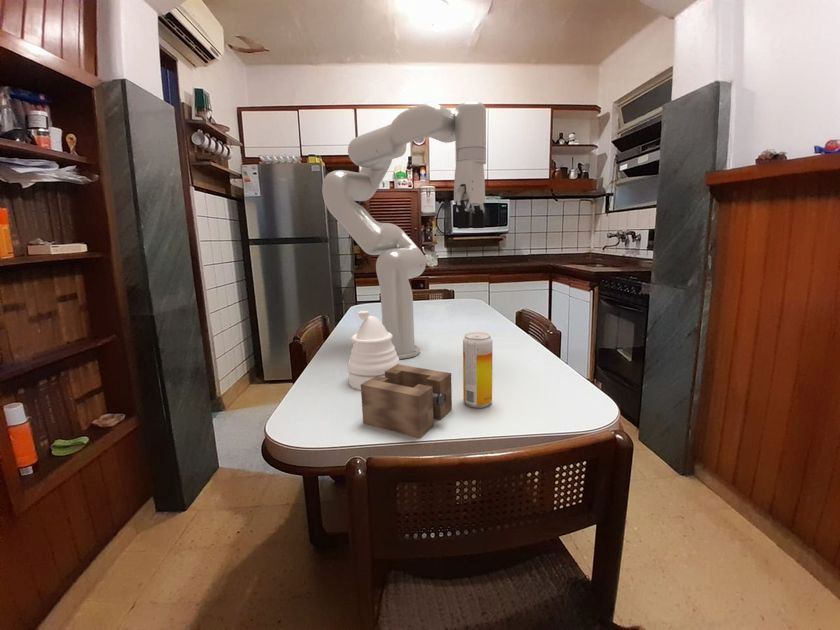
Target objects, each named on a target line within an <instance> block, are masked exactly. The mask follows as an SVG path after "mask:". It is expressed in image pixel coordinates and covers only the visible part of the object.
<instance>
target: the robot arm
mask: <svg viewBox="0 0 840 630" xmlns="http://www.w3.org/2000/svg"><path fill="white" fill-rule="evenodd" d="M486 109H487V108H486V106H485V104H484V103H482V102H479V101H466V102H462V103H460V104H458V105H457V106H456V108H455V110H452V109H449V108H446V107H445V106H443V105H440V104H438V103H436V102H427V103H423V104H420V105H419V104H418V105H417V106H413V107H411V108H408V109H406V110H404V111H402V112H401V113H399V114H398V115H397V116H396V117H395V118H394V119H393V120H392V122H391V123H390V124H388V125H386V126H382V127H380V128H378V129H375V130H371V131H368V132H366V133H363V134H361V135H359V136H356V137H354V138H353V139H352V140H351V141H349V144H348V146H347V153H348V157H349V159H350V160H351V162H352V163H353V164H355V165H356V166H358V167H361V168H360V170H359V172H355V171H352V170H351V171H350V170H343V169H340V170H339V169H338V170H333V171H331V172H328V173H327V174H326V175H325V177H324V178H323V181H322V187H321V188H322V189H321V190H322V191H321V193H322V198H323V202H324V204H325V206H326V208H327V211H329V213H330V214H331V215H332V216H333V218H335V220H337V221H338V223H339V224H340V225H341V226H342V227H343V228H344V229H345V231H346V232H347V233H348V234H349V236H350V237H351V238H352V239H353V240H354V241H355V242H356V244H357V245H358V247H360V248H361V249H362V251H363V252H364V253H366V254H367V255H371V256H377V255H378V257H377V259H376V261H375V270H376V276H377V280H378V284H379V291H380V292H379V293H380V307H381V308H380V309H381V322H382V324H383V325H384V327H385V329H386V330H387V332H389V333H391V334H392V336H393V337H392V339H391V341H392V344H393V345H394V347H395V351H396V353H397V356H398V357H399V360H402V359H409V358H413V357H416V356H418V355H419V354H420V352H421V349H420V347H419V346H418V345H415V324H414V323H415V321H414V320H415V318H414V298H413V297H414V296H413V290H412V285H411V284H410V281H409V280H411V279H415V278H418V277H419V276H420V275H422V274H423V272H425V270H426V264H427V261H426V257H425V255H424V252H422V250H421V248H420V247H418V246H417V245H416V243H415V242H414V241H413V240H412V239H411V238H410V237H409V236H408V234H407V233H405V231H404V230H403V229H402V228H400V227H399V226H398V225H396V224H394V223H390V222H380V221H377V220H375V218H374V217H373V216H372V215H371V214H370V212H368V210H366V208H365V207H363V206H362V205H360V204H359V203H357V202H366V201H368V200H370V199H371V198H372V197H373V196H374V195H375V194H376V191H377V190H378V189H379V187H380V185H381V183H382V181H383V180H384V178H385V177H386V174H387V173H388V170H389V169H390V167H391V164H392V162H393V160H394V159H398V158H400V157H402V156H404V155H405V154H406V151H407V145H408V144H409V143H411V142H414V141H416V140H420V139H423V138H430V139H433V140H436V141H439V142H442V143H446V144H447V143H453V142H455V144H454V145H455V146H454V147H455V148H454V150H455V168H454V169H455V170H454V183H453V202H454V203H455V205H456V209H455V210H456V221H457V222H456V226H457V227H456V228H457V229H458V230H461V229H462V230H463V229H466V230H467V229H470V228H471V227H472V229H484V227H485V207H486V203H485V202H486V183H485V181H486V180H485V168H484V167H485V166H484V165H486V164H487V110H486ZM470 207H471V208H472V213H471V211H469V210H470ZM471 222H472V223H471ZM471 225H472V226H471Z"/></svg>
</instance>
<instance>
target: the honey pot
mask: <svg viewBox="0 0 840 630" xmlns="http://www.w3.org/2000/svg"><path fill="white" fill-rule="evenodd" d="M369 314H370V311H369V310H360V311H358V317H359V318H360V319H361V320H363V321H362V323H361V325H360V326H359V328H358V331H357V333H355V334H354V335H352V336H351V341H352V342H353V345H352V348H351V350H350V351H351V353H350V355H349V360H348V361H347V368H348V383H349V384H350V385H351V386H352V387H351V386H350V385H349V386H350V387H351V388H353V387H354V388H356V389H355V390H358V389H359V391H361V384H362V383H364V382H366V381H368V380H370V379H372V378H373V377H375V376H378V377H384V378H385V371H386V370H388V369H390V368H392V367H394V366H396V365H397V364H399V365H401V362H400V360H401V359H399V357H398V356H397V353H396V351H395V347H394V345H393V344H392V341H391V339H392V337H393V336H392V334H391V333H389V332H387V330H386V329H385V327H384V325H383V324H382V320H380V319H379V318H378V317H376V316H374V315H369ZM354 388H353V389H354Z"/></svg>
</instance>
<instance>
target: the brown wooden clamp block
mask: <svg viewBox="0 0 840 630" xmlns="http://www.w3.org/2000/svg"><path fill="white" fill-rule="evenodd" d="M399 364H400V363H399ZM399 364H397V365H396V366H394V367H392V368H390V369H388V370H386V371H385V378H384V377H378V376H375V377H373V378H372V379H370V380H368V381H366V382H364V383H362V384H361V390H360V393H361V394H360V395H361V408H362V409H361V411H362V423H363V424H365V423H366V425H369V424H371V425H370V426H373V425H374V427H377V428H381V429H385V430H387V431H388V430H389V431H392V432H396V433H400V434H404V435H407V436H411V437H414V438H415V437H416V438H419V439H422V437H424V435H426V434H427V433H428V432H429V431H430V430H431V429H432V428H433V427H434V425H435V424H434V423H435V422H434V419H436V420H442V419H443V418H444V417H445V416H446V415H448V414H449V413H450V412H451V411H452V410H453V402H452V401H453V400H452V399H453V395H452V391H453V390H452V372H446V371H440V370H433V369H428V368H423V367H416V366H410V365H402V364H400V365H399ZM440 392H441V393H445V394H446V403H445V405H444V406H443V407H440V406H437V404H435V403H433V393H436V394H439V393H440Z"/></svg>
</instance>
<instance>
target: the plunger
mask: <svg viewBox="0 0 840 630" xmlns="http://www.w3.org/2000/svg"><path fill="white" fill-rule="evenodd" d="M433 403H435V404H437V406H440V407H443V406H444V405H445V403H446V394H445V393H441V392H440V393H439V394H436V393H433Z"/></svg>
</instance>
